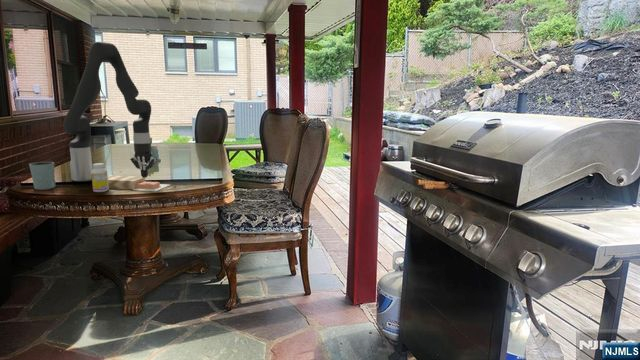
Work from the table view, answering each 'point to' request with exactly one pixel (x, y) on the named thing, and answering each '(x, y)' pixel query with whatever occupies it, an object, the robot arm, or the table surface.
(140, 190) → the mat
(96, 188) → the supplement bottle
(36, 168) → the pale teal cup
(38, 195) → the table surface
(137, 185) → the orange brown flat block
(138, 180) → the deck
